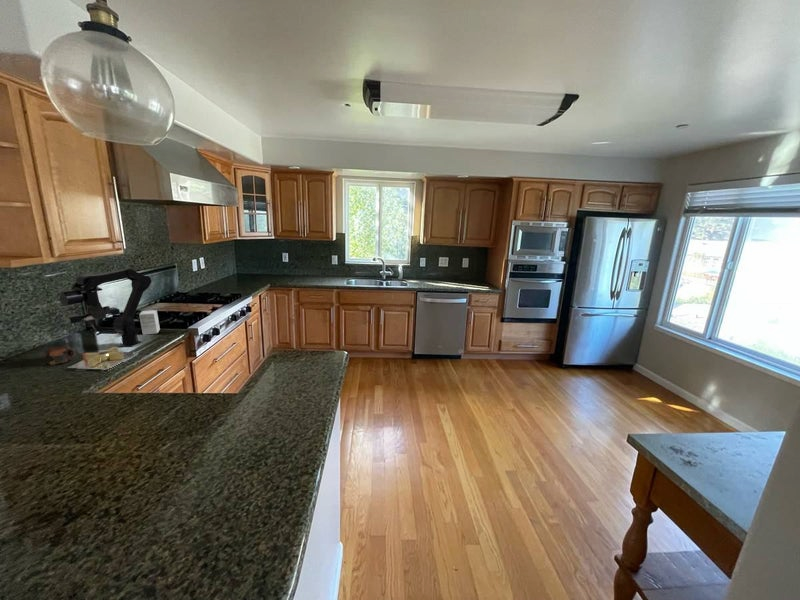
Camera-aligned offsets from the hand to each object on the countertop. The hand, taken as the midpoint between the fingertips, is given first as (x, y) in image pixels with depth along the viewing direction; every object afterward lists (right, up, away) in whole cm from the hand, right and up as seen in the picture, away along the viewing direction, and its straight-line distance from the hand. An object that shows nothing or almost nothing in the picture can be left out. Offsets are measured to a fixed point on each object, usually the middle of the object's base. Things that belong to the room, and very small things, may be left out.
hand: (97, 331), depth 162 cm
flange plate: (+9, -14, -6) cm, 17 cm away
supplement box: (+1, -4, +34) cm, 34 cm away
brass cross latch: (+9, -13, -6) cm, 17 cm away
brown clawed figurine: (-11, -14, -6) cm, 19 cm away
